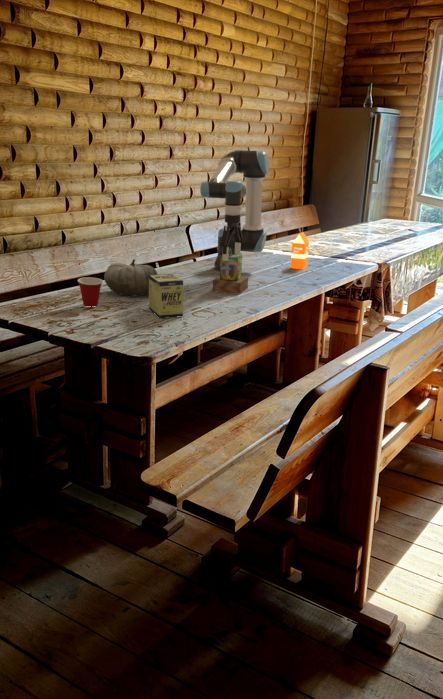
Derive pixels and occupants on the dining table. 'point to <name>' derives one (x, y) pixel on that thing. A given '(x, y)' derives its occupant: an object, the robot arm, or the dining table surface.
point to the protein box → (166, 295)
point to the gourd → (129, 278)
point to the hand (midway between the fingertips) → (231, 258)
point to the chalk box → (231, 267)
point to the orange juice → (299, 252)
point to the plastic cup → (90, 290)
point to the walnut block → (230, 285)
